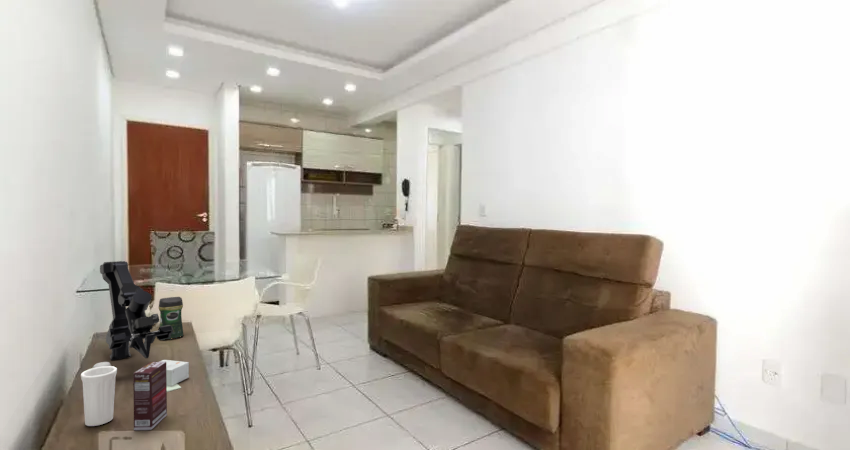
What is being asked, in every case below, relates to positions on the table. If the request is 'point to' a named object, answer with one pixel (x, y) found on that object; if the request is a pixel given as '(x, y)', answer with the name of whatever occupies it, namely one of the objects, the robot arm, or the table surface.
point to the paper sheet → (173, 387)
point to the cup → (98, 394)
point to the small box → (176, 371)
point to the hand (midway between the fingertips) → (147, 357)
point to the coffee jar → (171, 314)
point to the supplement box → (150, 395)
